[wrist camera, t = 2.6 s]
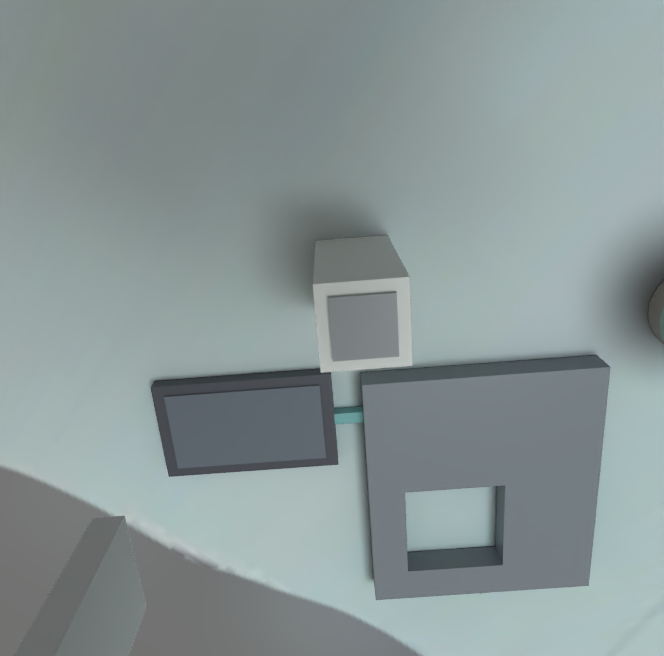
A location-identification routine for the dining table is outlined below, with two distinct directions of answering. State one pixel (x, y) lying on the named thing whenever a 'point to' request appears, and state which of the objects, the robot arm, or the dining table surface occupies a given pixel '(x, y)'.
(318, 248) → the block
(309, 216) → the dining table surface
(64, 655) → the robot arm
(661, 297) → the coffee cup
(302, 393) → the phone
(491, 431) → the socket plate
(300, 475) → the dining table surface
